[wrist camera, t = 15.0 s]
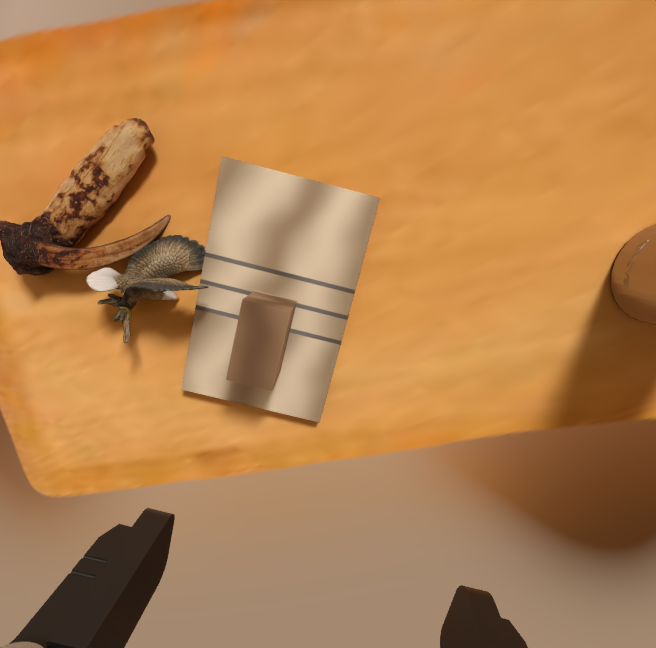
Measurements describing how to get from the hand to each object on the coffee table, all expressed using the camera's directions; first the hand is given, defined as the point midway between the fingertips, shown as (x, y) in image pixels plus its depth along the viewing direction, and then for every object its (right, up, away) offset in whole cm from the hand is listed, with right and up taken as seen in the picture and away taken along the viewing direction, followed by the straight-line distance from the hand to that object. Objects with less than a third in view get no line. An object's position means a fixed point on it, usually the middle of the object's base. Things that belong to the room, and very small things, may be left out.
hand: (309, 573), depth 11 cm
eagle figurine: (-15, +11, +26) cm, 32 cm away
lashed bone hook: (-20, +17, +26) cm, 36 cm away
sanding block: (-5, +6, +26) cm, 27 cm away
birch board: (-4, +9, +26) cm, 28 cm away
